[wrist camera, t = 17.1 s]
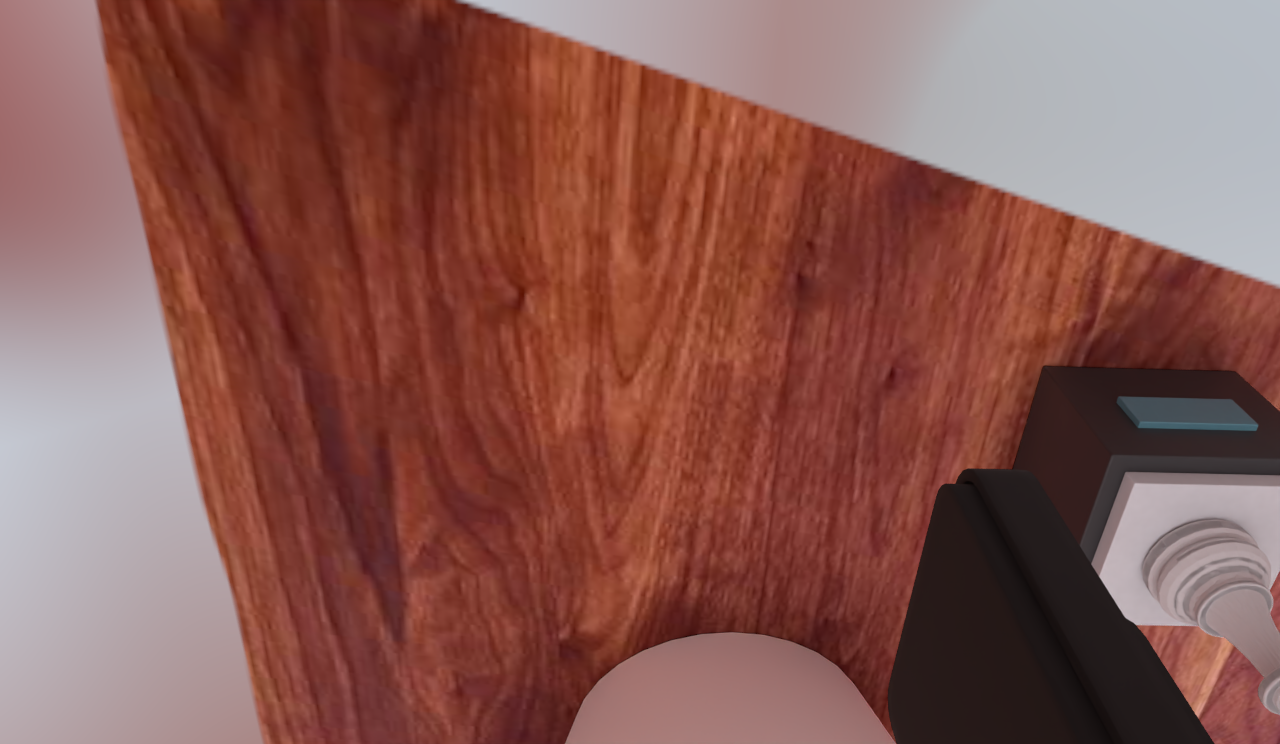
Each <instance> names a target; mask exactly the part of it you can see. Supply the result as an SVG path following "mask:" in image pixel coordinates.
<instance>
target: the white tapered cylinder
mask: <svg viewBox="0 0 1280 744" xmlns="http://www.w3.org/2000/svg"><path fill="white" fill-rule="evenodd" d="M565 744H896V743H895V742H894V740H893V739H892V737H891V736H890V734H889V733H888V732H887V730H886V729H885V727H884V726H883V724H882V723H881V722H880V720H879V719H878V717H877V716H876V715H875V713H874V712H873V710H872V709H871V707H870V706H869V705H868V703H867V702H866V700H865V699H864V697H863V696H862V695H861V693H860V692H859V690H858V689H857V687H856V686H855V685H854V683H853V682H852V681H851V680H850V679H849V678H848V677H847V676H846V675H845V674H844V672H843V671H842V670H841V669H840V668H839V667H838V666H837V665H835V664H834V663H832V662H831V661H829V660H828V659H826V658H825V657H823V656H822V655H820V654H819V653H817V652H815V651H813V650H810V649H808V648H806V647H803V646H801V645H799V644H796V643H794V642H791V641H787V640H783V639H779V638H775V637H770V636H766V635H760V634H748V633H736V632H728V633H712V634H700V635H695V636H690V637H685V638H680V639H675V640H671V641H668V642H665V643H662V644H660V645H657V646H654V647H652V648H649V649H646V650H643V651H641V652H640V653H638V654H636V655H634V656H632V657H631V658H629V659H627V660H625V661H624V662H622V663H620V664H618V665H617V666H616V667H615V668H613V669H612V670H611V671H610V672H609V673H607V674H606V675H605V676H604V677H603V678H601V679H600V680H599V681H598V682H597V683H596V685H595V686H594V687H593V688H592V690H591V691H590V692H589V694H588V695H587V696H586V697H585V699H584V700H583V703H582V705H581V707H580V709H579V711H578V713H577V716H576V718H575V720H574V723H573V725H572V728H571V730H570V733H569V735H568V738H567V740H566V742H565Z"/></svg>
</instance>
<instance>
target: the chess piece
mask: <svg viewBox="0 0 1280 744" xmlns="http://www.w3.org/2000/svg"><path fill="white" fill-rule="evenodd" d="M1142 573H1143V581H1144V583H1145V585H1146V587H1147V589H1148V590H1149V592H1150V593H1151V595H1152V596H1153V598H1154V599H1156V600H1157V601H1158V602H1159V603H1160V605H1161V607H1162V608H1163V610H1164V611H1165V612H1166V613H1167V614H1168V615H1169V616H1171V617H1172V618H1174V619H1176V620H1179V621H1181V622H1184V623H1186V624H1189V625H1196V626H1199V627H1200V628H1201V629H1202V630H1203V631H1204V632H1206V633H1207V634H1210V635H1212V636H1216V637H1224V638H1226V639H1227V640H1228V641H1229V642H1230V643H1232V644H1233V645H1234V646H1235V647H1236V648H1237V649H1238V650H1239V651H1240V652H1241V653H1242V654H1243V655H1245V656H1246V657H1247V658H1248V659H1249V660H1250V662H1251V663H1252V664H1253V665H1254V666H1255V667H1256V669H1257V670H1258V671H1259V672H1260V673H1261V674H1262V676H1263V677H1264V679H1263V680H1262V682H1261V683H1260V685H1259V688H1258V696H1259V698H1260V700H1261V702H1262V703H1263V705H1264V706H1265V707H1266V708H1267V709H1268V710H1269V711H1271V712H1273V713H1275V714H1278V715H1280V633H1279V631H1278V630H1277V628H1276V626H1275V624H1274V622H1273V619H1272V617H1271V615H1270V612H1271V610H1272V607H1273V597H1272V595H1271V593H1270V591H1269V590H1268V588H1269V585H1270V582H1271V565H1270V562H1269V560H1268V558H1267V556H1266V555H1265V554H1264V553H1263V552H1262V551H1261V550H1260V549H1259V547H1258V545H1257V543H1256V541H1255V540H1254V539H1253V538H1252V537H1251V535H1250V534H1249V533H1247V532H1246V531H1245V530H1244V529H1243V528H1242V527H1241V526H1239V525H1237V524H1235V523H1232V522H1230V521H1224V520H1217V519H1215V520H1202V521H1197V522H1193V523H1190V524H1186V525H1184V526H1182V527H1180V528H1177V529H1175V530H1173V531H1172V532H1170V533H1168V534H1167V535H1166V536H1164V537H1163V538H1162V539H1161V540H1160V541H1159V542H1158V543H1157V544H1156V545H1155V546H1154V547H1153V548H1152V549H1151V551H1150V552H1149V554H1148V555H1147V557H1146V559H1145V562H1144V565H1143V569H1142Z"/></svg>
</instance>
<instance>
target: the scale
mask: <svg viewBox="0 0 1280 744" xmlns="http://www.w3.org/2000/svg"><path fill="white" fill-rule="evenodd" d="M1013 470H1027V471H1029V472H1032V474H1033V475H1034V476H1035V477H1036V478H1037V479H1038V481H1039V482H1040V484H1041V485H1042V487H1043V489H1044V490H1045V492H1046V493H1047V495H1048V497H1049V498H1050V500H1051V501H1052V503H1053V504H1054V506H1055V508H1056V509H1057V511H1058V512H1059V514H1060V515H1061V517H1062V519H1063V520H1064V522H1065V523H1066V525H1067V527H1068V528H1069V530H1070V531H1071V533H1072V534H1073V536H1074V538H1075V539H1076V541H1077V542H1078V544H1079V545H1080V547H1081V549H1082V550H1083V552H1084V553H1085V555H1086V557H1087V558H1088V560H1089V561H1090V563H1091V564H1092V566H1093V568H1094V569H1095V571H1096V572H1097V574H1098V575H1099V577H1100V579H1101V580H1102V582H1103V583H1104V585H1105V587H1106V588H1107V590H1108V591H1109V593H1110V594H1111V596H1112V598H1113V599H1114V601H1115V602H1116V604H1117V605H1118V607H1119V609H1120V610H1121V612H1122V613H1123V615H1124V617H1125V618H1126V619H1128V620H1130V621H1131V622H1133V623H1134V624H1135V625H1167V626H1196V625H1189V624H1186V623H1184V622H1181V621H1179V620H1176V619H1174V618H1172V617H1171V616H1169V615H1168V614H1167V613H1166V612H1165V611H1164V610H1163V608H1162V607H1161V605H1160V603H1159V602H1158V601H1157V600H1156V599H1154V598H1153V596H1152V595H1151V593H1150V592H1149V590H1148V589H1147V587H1146V585H1145V583H1144V581H1143V573H1142V569H1143V565H1144V562H1145V559H1146V557H1147V555H1148V554H1149V552H1150V551H1151V549H1152V548H1153V547H1154V546H1155V545H1156V544H1157V543H1158V542H1159V541H1160V540H1161V539H1162V538H1163V537H1164V536H1166V535H1167V534H1168V533H1170V532H1172V531H1173V530H1175V529H1177V528H1180V527H1182V526H1184V525H1186V524H1190V523H1193V522H1197V521H1202V520H1215V519H1217V520H1224V521H1230V522H1232V523H1235V524H1237V525H1239V526H1241V527H1242V528H1243V529H1244V530H1245V531H1246V532H1247V533H1249V534H1250V535H1251V537H1252V538H1253V539H1254V540H1255V541H1256V543H1257V545H1258V547H1259V549H1260V550H1261V551H1262V552H1263V553H1264V554H1265V555H1266V556H1267V558H1268V560H1269V562H1270V565H1271V582H1270V585H1269V588H1268V590H1269V591H1270V589H1271V587H1272V585H1273V583H1274V581H1275V579H1276V577H1277V575H1278V573H1279V571H1280V411H1279V410H1277V409H1276V408H1275V407H1274V406H1273V405H1272V404H1271V403H1270V402H1269V401H1267V400H1266V399H1265V398H1264V397H1263V396H1262V395H1261V394H1260V393H1259V392H1257V391H1256V390H1255V389H1254V388H1253V387H1252V386H1251V385H1250V384H1249V383H1248V382H1246V381H1245V380H1244V379H1243V378H1242V377H1241V376H1240V375H1239V374H1238V373H1236V372H1232V371H1196V370H1159V369H1123V368H1087V367H1051V366H1044V367H1043V369H1042V373H1041V376H1040V380H1039V383H1038V386H1037V390H1036V393H1035V396H1034V400H1033V403H1032V406H1031V410H1030V413H1029V417H1028V420H1027V423H1026V427H1025V430H1024V433H1023V437H1022V440H1021V443H1020V447H1019V450H1018V453H1017V457H1016V460H1015V464H1014V467H1013Z"/></svg>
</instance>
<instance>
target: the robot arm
mask: <svg viewBox="0 0 1280 744" xmlns="http://www.w3.org/2000/svg"><path fill="white" fill-rule="evenodd" d="M888 710H889V717H890V722H891V726H892V730H893V733H894V736H895V739H896V743H897V744H1214V742H1213V741H1212V739H1211V738H1210V736H1209V735H1208V733H1207V732H1206V730H1205V728H1204V727H1203V725H1202V724H1201V722H1200V721H1199V719H1198V718H1197V716H1196V715H1195V713H1194V711H1193V710H1192V708H1191V707H1190V705H1189V704H1188V702H1187V701H1186V699H1185V697H1184V696H1183V694H1182V693H1181V691H1180V690H1179V688H1178V687H1177V685H1176V683H1175V682H1174V680H1173V679H1172V677H1171V676H1170V674H1169V673H1168V671H1167V669H1166V668H1165V666H1164V665H1163V663H1162V662H1161V660H1160V659H1159V657H1158V655H1157V654H1156V652H1155V651H1154V649H1153V648H1152V646H1151V645H1150V643H1149V641H1148V640H1147V638H1146V637H1145V636H1144V634H1143V633H1142V632H1141V631H1140V630H1139V629H1138V627H1137V626H1136V625H1135V624H1134V623H1133V622H1131V621H1130V620H1128V619H1126V618H1125V617H1124V615H1123V613H1122V612H1121V610H1120V609H1119V607H1118V605H1117V604H1116V602H1115V601H1114V599H1113V598H1112V596H1111V594H1110V593H1109V591H1108V590H1107V588H1106V587H1105V585H1104V583H1103V582H1102V580H1101V579H1100V577H1099V575H1098V574H1097V572H1096V571H1095V569H1094V568H1093V566H1092V564H1091V563H1090V561H1089V560H1088V558H1087V557H1086V555H1085V553H1084V552H1083V550H1082V549H1081V547H1080V545H1079V544H1078V542H1077V541H1076V539H1075V538H1074V536H1073V534H1072V533H1071V531H1070V530H1069V528H1068V527H1067V525H1066V523H1065V522H1064V520H1063V519H1062V517H1061V515H1060V514H1059V512H1058V511H1057V509H1056V508H1055V506H1054V504H1053V503H1052V501H1051V500H1050V498H1049V497H1048V495H1047V493H1046V492H1045V490H1044V489H1043V487H1042V485H1041V484H1040V482H1039V481H1038V479H1037V478H1036V477H1035V476H1034V475H1033V474H1032V472H1029V471H1027V470H1008V469H966V470H964V471H962V473H961V474H960V475H959V477H958V479H957V482H956V484H944V485H942V486H941V487H940V489H939V491H938V493H937V496H936V500H935V504H934V508H933V512H932V516H931V520H930V523H929V527H928V531H927V535H926V539H925V543H924V547H923V551H922V555H921V559H920V563H919V567H918V571H917V575H916V579H915V583H914V587H913V591H912V595H911V599H910V603H909V607H908V611H907V615H906V619H905V623H904V627H903V631H902V635H901V638H900V642H899V646H898V650H897V654H896V658H895V662H894V666H893V670H892V674H891V678H890V682H889V688H888Z"/></svg>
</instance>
